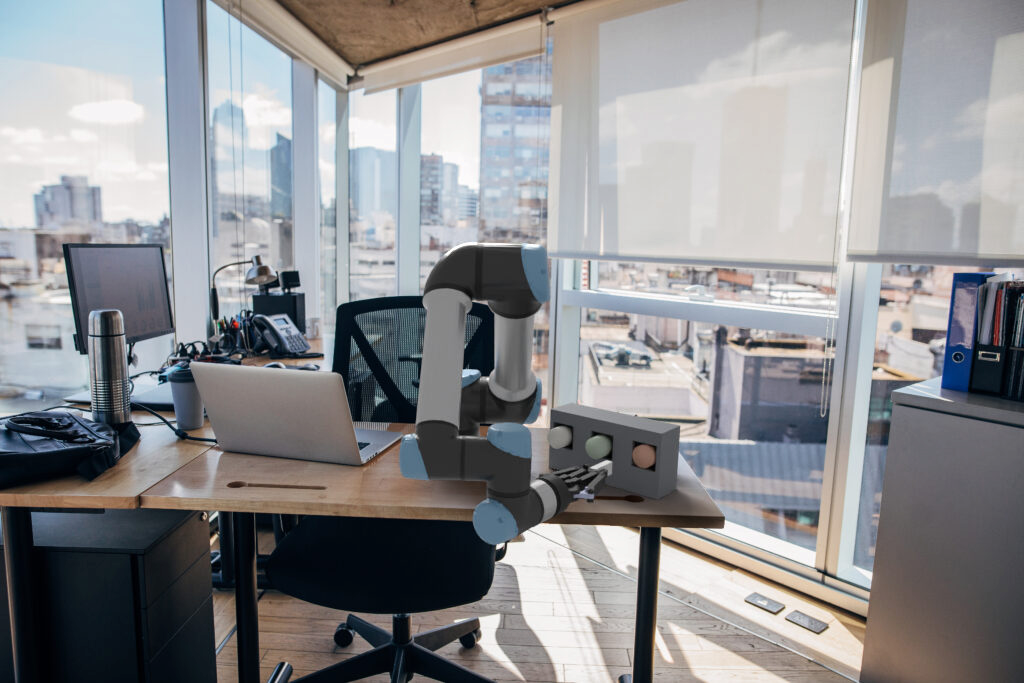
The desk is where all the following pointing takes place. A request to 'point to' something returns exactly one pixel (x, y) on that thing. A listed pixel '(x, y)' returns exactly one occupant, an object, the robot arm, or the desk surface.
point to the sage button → (599, 446)
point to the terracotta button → (644, 455)
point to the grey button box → (619, 447)
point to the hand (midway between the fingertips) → (609, 467)
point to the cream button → (560, 436)
